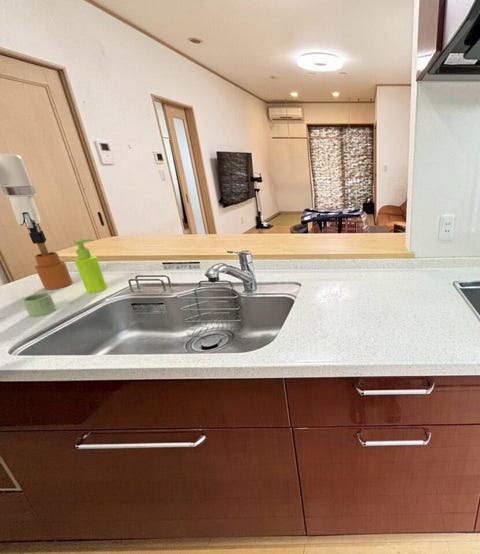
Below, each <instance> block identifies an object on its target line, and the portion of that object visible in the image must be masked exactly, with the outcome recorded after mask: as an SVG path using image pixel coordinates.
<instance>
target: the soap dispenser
mask: <svg viewBox="0 0 480 554" xmlns="http://www.w3.org/2000/svg"><path fill="white" fill-rule="evenodd" d="M94 241H95V239H94V238H82V239H77V240H73V244H76V246H77V249H75V253H76V255H77V258H75V259H74V262H75V265H76V268H77V270H78V272H79V275H80V278H81V281H82V284H83V286H84V288H85V290H86V291H85V292H86V293H88V294H96V293H100V292H103V291H106V290H107V289H108V286H107V284H106V281H105V278H104V275H103V273H102V270H101V267H100V264H99V261H98V258H97V256H95V255H91V252H90V249H89V248H88V247H85V244H84V243H85V242H94Z"/></svg>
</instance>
